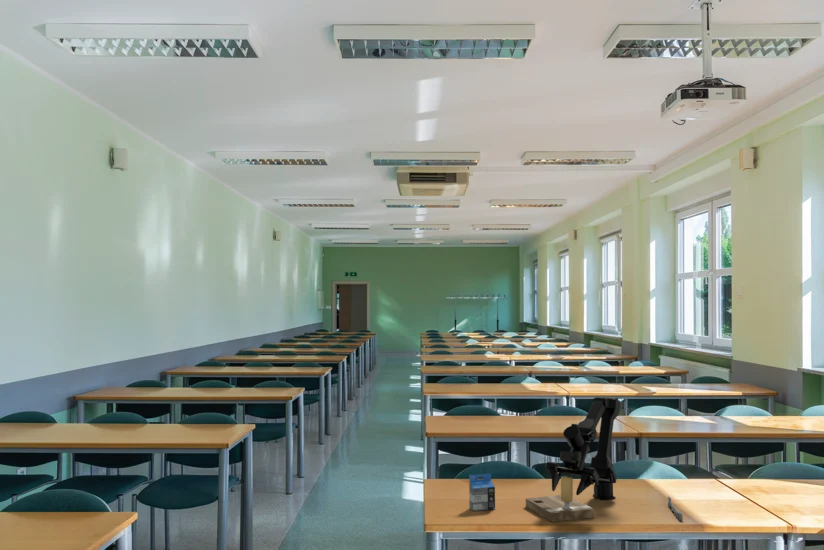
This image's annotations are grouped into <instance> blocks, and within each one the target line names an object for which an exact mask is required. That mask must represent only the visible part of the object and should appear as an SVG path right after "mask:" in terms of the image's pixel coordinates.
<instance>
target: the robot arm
mask: <svg viewBox="0 0 824 550" xmlns="http://www.w3.org/2000/svg"><path fill="white" fill-rule="evenodd" d="M592 400H593V402H592V404H591V406H590V408H589V410H588V412H587V414H586V416H585V418H584V420H582V421H580V422H578V423H571V425H570V426H567V427H566V428H565V429H564V430H563V431H562V432H563V437H564V438H565V440H566V442H567V444H568V445H569V447H570V448H571V449H570V451H565V450H564V451H563V450H561V451H560V455H559V461H561V462H562V466H564V467H562V466H560V465H559V463H558V462H554V461H548V462H546V464H545V466H544V468H545V469H546V471H547V473H548V475H549V476H550V477H551V491H552V492H555V491H556V489H557V488H558V485H559V483H560V481H561V477H562V474H565V475H573V476H578V477H580V480H579V483H578V485H577V488H576V493H575V494H576V496H579V495H581V494H582V493H583V492H584V491H585V490H586V489H588V488H589V487H590V486H591V485H593V494H592V496H593V497H594V496H595V497H594V498H597V499H599V500H600V501H601V500H611V499H612V500H613V499H616V496H615V495H614V484H616V483H617V478H618V477H617V473H616V472H615V470H614V467H613V466H614V465H613V462H612V460H611V456H610V455H611V448H612V447H611V446H612V439H613V429H614V421H615V420H616V419H617V418H618V416H619V414H620V410H621V407H622V403H621V401H620V400H619V397H611V396H610V397H609V396H595V397H594V398H593V399H592ZM599 422H600V426H599V428H600V429H599V435H598V432H597V426H598V424H599ZM597 436H598V443H597V451H596V454H595V456H592V457H591V459H590V466H589V467H588V466H586V457H587V455H588V454H589V453H590V452H591V449H590V446H589V444H588V443H594V441H595V440H596V439H597ZM560 476H561V477H560Z"/></svg>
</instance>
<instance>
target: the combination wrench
mask: <svg viewBox="0 0 824 550" xmlns="http://www.w3.org/2000/svg"><path fill="white" fill-rule="evenodd" d="M667 500H668V501H667V507H669V508H671V509H672V511H673V512H674V514H675V516H676V517H677V520H678V521H680V522H681V521H683V519H684V518H683V517H684V516H683V513H682V512H681V511H679V510H677V508H676V507H675V506H674V504H673V502H672V498H671V496H667Z"/></svg>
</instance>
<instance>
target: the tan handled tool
mask: <svg viewBox="0 0 824 550" xmlns="http://www.w3.org/2000/svg"><path fill="white" fill-rule="evenodd" d="M573 481H574V480H573V476H569V475H561V477H560V495H561V501H564V510H565V511H566V510H570V502H572V501H573V499H574V494H573V492H574V491H573V489H574V488H573V483H574V482H573Z"/></svg>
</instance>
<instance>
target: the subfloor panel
mask: <svg viewBox="0 0 824 550" xmlns="http://www.w3.org/2000/svg"><path fill="white" fill-rule="evenodd" d="M525 507H526V508H527V509H529V510H531V511H533V512H534V513H536V514H537V513H538V514H537V515H539V516H541V517H542V516H543V518H544V519H545V520H547V519H548V520H547V521H549V522H551V521H552V522H551V523H557V522H556V521H559V522H565V521H566V520H568V521H574V520H576V519H577V520H583V519H584V518H586V519H592V518H593V517H594V518H595V508H594V507H591V506H589V505H587V504H585V503H583V502H581V501H579V500H577V499H574V498H573V501H572V502H570V510H566V511H565V510H564V501H561V494H558V495H557V494H555V495H548V496H540V497H539V496H538V497H527V498H525ZM594 518H593V519H594ZM566 522H567V521H566Z"/></svg>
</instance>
